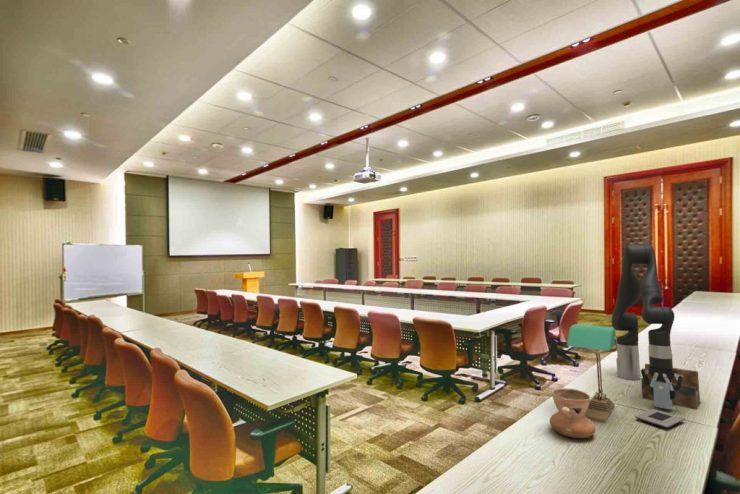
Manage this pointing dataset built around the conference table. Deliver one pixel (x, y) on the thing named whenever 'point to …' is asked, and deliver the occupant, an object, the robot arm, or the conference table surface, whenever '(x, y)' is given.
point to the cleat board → (687, 392)
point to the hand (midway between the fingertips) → (662, 397)
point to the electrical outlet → (659, 418)
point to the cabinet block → (662, 394)
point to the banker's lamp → (599, 340)
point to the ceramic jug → (571, 413)
